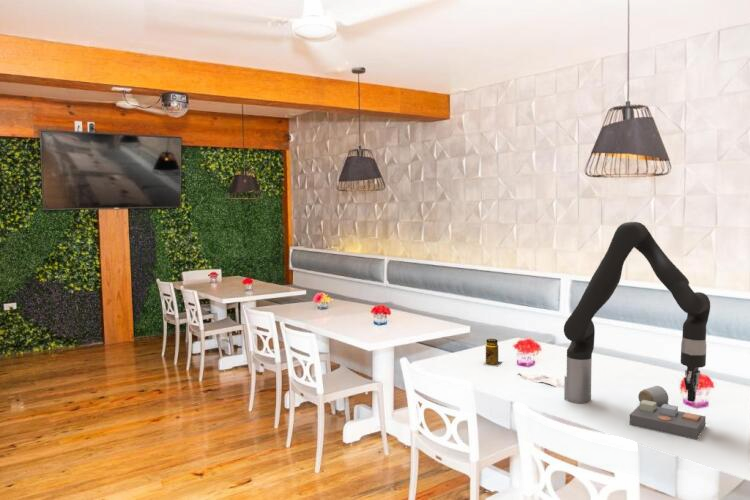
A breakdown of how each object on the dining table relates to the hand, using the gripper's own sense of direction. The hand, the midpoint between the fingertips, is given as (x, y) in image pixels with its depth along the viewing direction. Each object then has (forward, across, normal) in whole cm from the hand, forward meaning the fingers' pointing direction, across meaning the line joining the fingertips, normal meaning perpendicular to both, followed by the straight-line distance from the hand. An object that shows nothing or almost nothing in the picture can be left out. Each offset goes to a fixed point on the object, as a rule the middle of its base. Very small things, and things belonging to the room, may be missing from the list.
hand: (691, 400), depth 200 cm
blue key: (+7, 0, -7) cm, 10 cm away
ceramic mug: (+10, -14, -14) cm, 22 cm away
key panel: (+10, +2, -7) cm, 12 cm away
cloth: (+11, -21, -62) cm, 66 cm away
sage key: (+7, 0, -14) cm, 15 cm away
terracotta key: (+9, 0, 0) cm, 9 cm away
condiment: (+11, -32, -93) cm, 99 cm away
